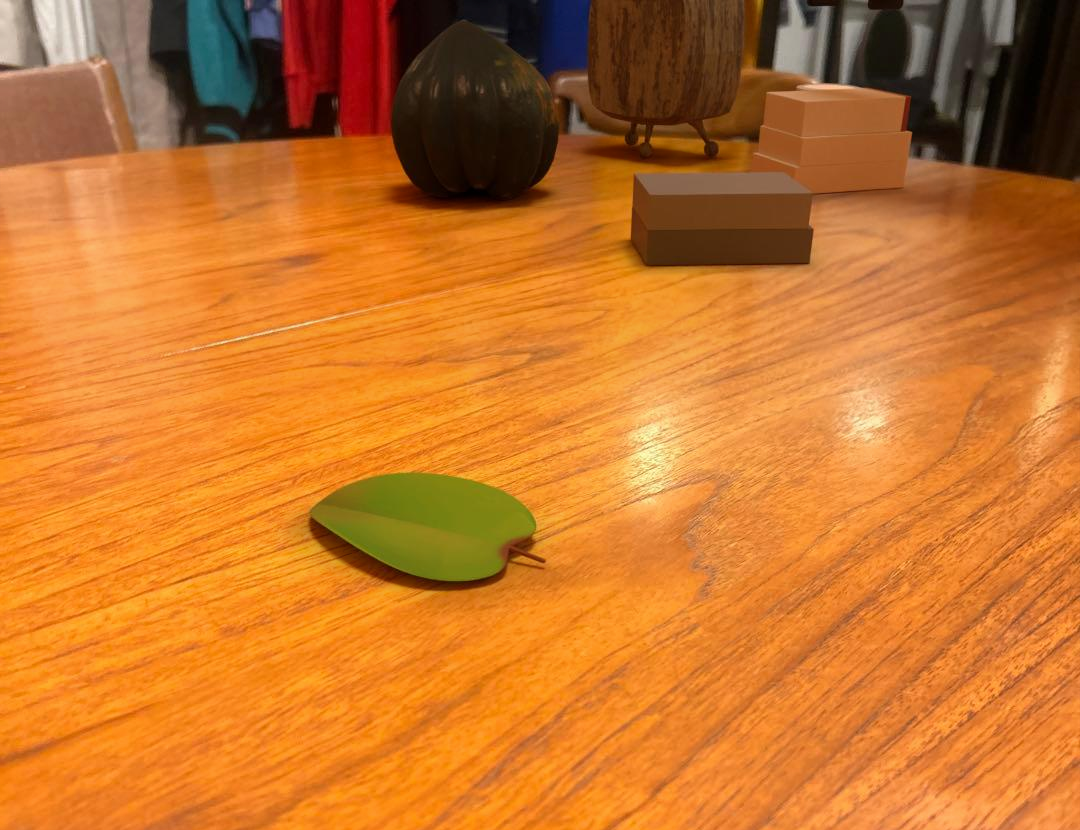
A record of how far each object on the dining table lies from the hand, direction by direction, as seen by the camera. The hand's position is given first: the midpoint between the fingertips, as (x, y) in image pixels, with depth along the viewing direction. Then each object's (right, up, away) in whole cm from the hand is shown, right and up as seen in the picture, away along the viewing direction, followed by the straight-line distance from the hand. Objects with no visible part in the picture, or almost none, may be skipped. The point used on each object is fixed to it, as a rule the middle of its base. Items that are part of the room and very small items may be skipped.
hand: (852, 7), depth 97 cm
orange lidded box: (0, -13, +8) cm, 15 cm away
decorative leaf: (-33, -48, -55) cm, 80 cm away
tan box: (0, -9, +5) cm, 10 cm away
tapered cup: (+3, -6, +21) cm, 22 cm away
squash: (-34, -16, +3) cm, 38 cm away
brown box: (-15, -26, -15) cm, 33 cm away
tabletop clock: (-15, -6, +21) cm, 27 cm away
